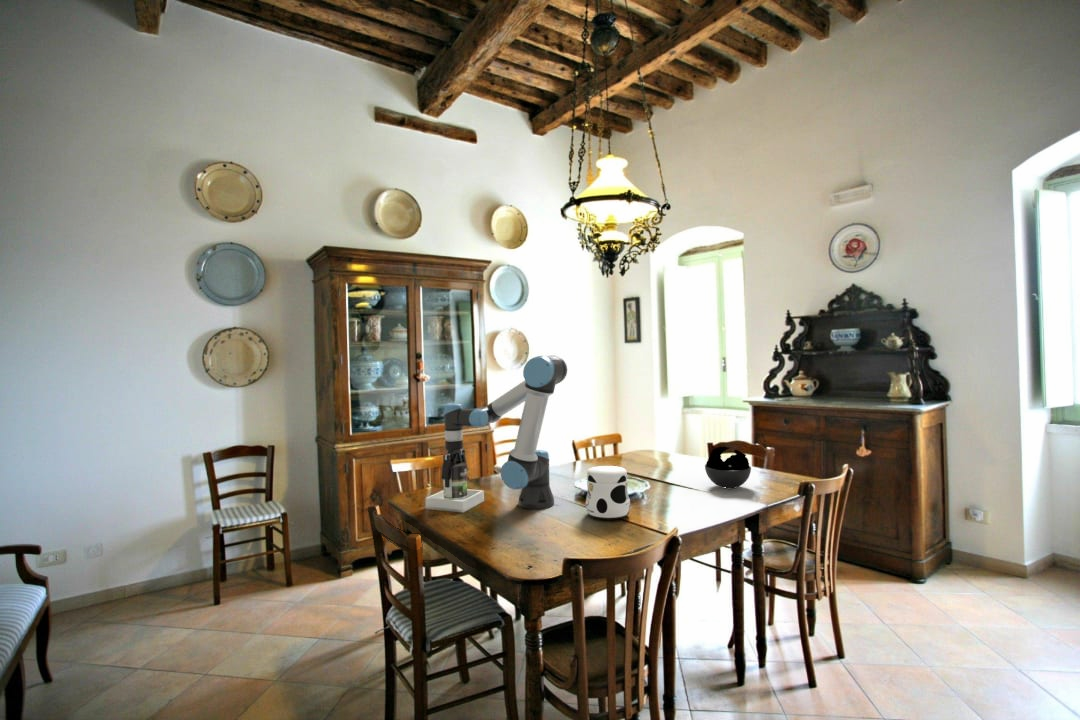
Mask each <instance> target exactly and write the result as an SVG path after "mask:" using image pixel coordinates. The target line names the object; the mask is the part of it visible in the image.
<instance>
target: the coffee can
mask: <svg viewBox="0 0 1080 720" xmlns="http://www.w3.org/2000/svg"><path fill="white" fill-rule="evenodd" d="M466 465H467V462H466V463H464V462H462V463H456V462H455V464H454V466H452V467H451V466H449V469H451V478H450V479H451V480H452V495H445V480H444V479H442V485H443V486H442V487H443V489H442V490H444V499H448V500H459V499H463V498H466V497H467V496H468V495H467V489H468V479H467V478H468V474H467V473H468V470H467V468H468V465H467V467H466ZM442 468H443V464H442Z"/></svg>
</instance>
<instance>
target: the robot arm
mask: <svg viewBox="0 0 1080 720" xmlns="http://www.w3.org/2000/svg"><path fill="white" fill-rule="evenodd" d="M567 374H568V365H567V363H566V362H565V360H564V359H563V358H561V357H560V356H558V355H538V356H534V357H532V358H531V359H529V360H527V362H526V363H525V365H524V366H523V371H522V376H523V378H524V380H522V382H520V383H518V384H517V385H516V386H514V387H513V388H511V389H509V390H508V391H507V392H505V393H504V394H502V395H500V396H499V397H497V398H496V399H495V400H492V402H490V403H489V404H487V405H486V406H485V405H484V406H481V407H476V408H463V407H462V406H463V405H462V404H461V403H447V404H445V405H444V407H443V408H444V410H443V411H444V412H443V418H444V419H443V420H444V439H445V441H444V444H445V446H444V448H445V450H446V451H447V454H443V456H442V459H443V460H442V461H443V462H442V465H443V467H442V469H441V479H442V480H443V479H444V480H445V495H452V480H451V479H450V478H451V469H449V466H451V467H452V466H454V464H455V462H456V463H462V462H464V463H467V459H466V450H465V449H464V440H463V439H464V438H463V437H464V435H463V427H467V428H469V427H470V428H485V427H486V425H487V424H492V423H493V424H494V423H495V422H498V421H500V419H501V418H502V417H503V416H504V415H506V414H507V413H509V412H511V411H512V410H514V409H515V408H517V407H519V406H520V405H521V404H523V403H524V405H523V409H522V414H521V418H520V421H519V422H520V423H519V428H518V431H517V435H516V440H515V443H514V448H512V449H511V450H510V451H509V453H508V457H507V458H508V459H507V461H505V462H504V463H503V465H502V466H501V468H500V478H501V480H502V481H503V484H504V485H505V486H506V488H509V489H511V490H514V491H515V490H517V491H518V490H520V493H519V497H518V506H519V507H521V508H523V509H527V510H528V509H529V510H543V509H548V508H551V507H553V506H554V505H555V497H554V494H553V492H552V489H551V486H550V458H549V457H550V454H549V452H548V451H547V450H541V449H537V447H538V442H539V439H540V434H541V430H542V425H543V421H544V418H545V413H546V410H547V405H548V400H549V397H550V396H551V395H553V394H554V393H555V392H554V391H555V387H556V385H558V384H560V383H561V382H563V381H564V380H565V379H566V377H567ZM466 467H467V471H468V470H469V469H468V465H466Z"/></svg>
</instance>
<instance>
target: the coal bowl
mask: <svg viewBox="0 0 1080 720" xmlns="http://www.w3.org/2000/svg"><path fill="white" fill-rule="evenodd" d="M729 449H730V446H729V447H728V446H727V447H726V446H716V447H715V448H713V449H712V451H710V455H709V456H708V458H707V461H706V463H705V465H704V470H705V473H706V475H707V477H708V479H709V480H710V481H711V482H712V483H713V484H715V485H716V486H718V487H720V488H722V487H726V488H725V489H727V488H731V489H736V488H738V487H741V486H742V485H743V484H745V483H746V482H747V481H748V479H749V477H750V475H751V471H752V468H751V466H750V462H749V459H748V457H747V454H746V453H744V452H742V451H740V450H738V449H734V450H733V451H734V453H735V454H731V455H730V456H729V457H727V458H725V460H723V459H722V454H723V453H724V452H725V451H727V450H729ZM735 487H736V488H735Z"/></svg>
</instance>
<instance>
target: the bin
mask: <svg viewBox="0 0 1080 720" xmlns="http://www.w3.org/2000/svg"><path fill="white" fill-rule="evenodd" d="M467 495H468V496H467V497H466V498H463V499H459V500H448V499H444V489H442V490H440V491H438V492H436V493H434V494H432V495H429V496H427V497H425V509H426V510H433V511H434V510H435V511H444V512H445V511H446V512H455V513H463V514H464V513H465V512H466V511H469V510H471V509H472V508H475V507H476V506H478V505H480V504H482V503H483V502H485V490H481V489H472V488H471V489H470V488H467Z"/></svg>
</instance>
